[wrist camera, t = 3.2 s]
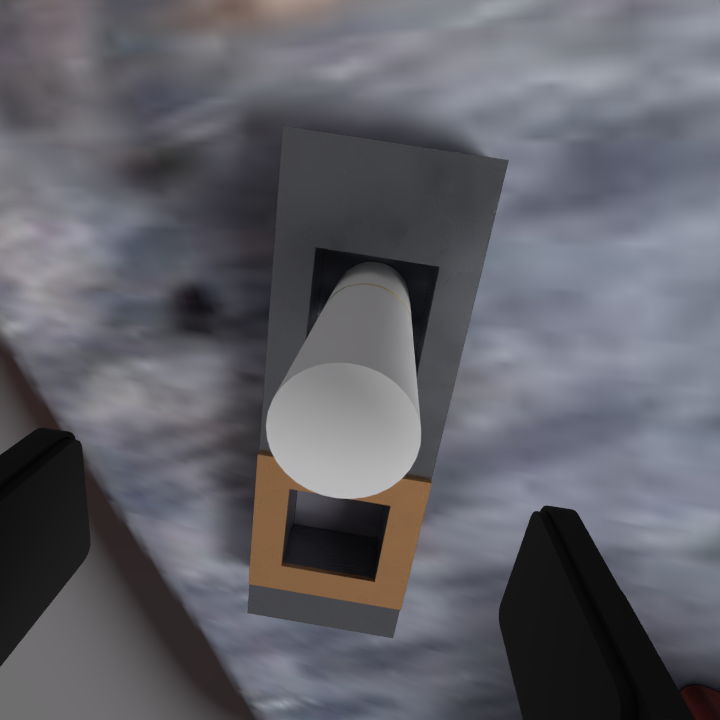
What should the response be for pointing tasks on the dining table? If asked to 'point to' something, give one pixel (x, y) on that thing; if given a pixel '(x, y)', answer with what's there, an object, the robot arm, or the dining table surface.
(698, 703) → the plant pot
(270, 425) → the tube
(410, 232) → the rack
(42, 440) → the robot arm
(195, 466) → the dining table surface
